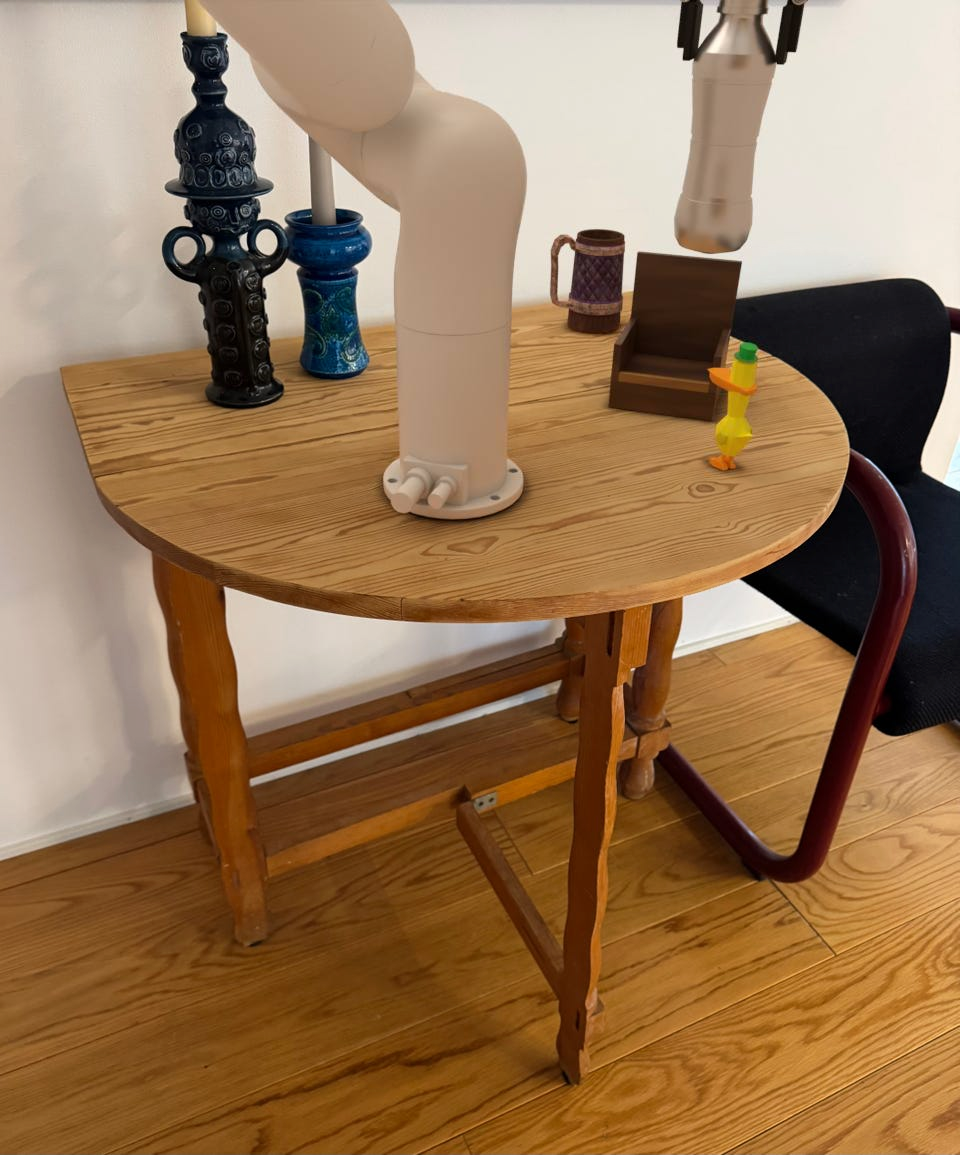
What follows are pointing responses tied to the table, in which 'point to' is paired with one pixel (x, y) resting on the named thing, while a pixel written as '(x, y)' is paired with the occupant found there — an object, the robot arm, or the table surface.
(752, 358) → the toy figure
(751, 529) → the table surface
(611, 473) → the table surface
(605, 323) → the mug
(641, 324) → the wooden chair
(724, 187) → the silver water bottle
